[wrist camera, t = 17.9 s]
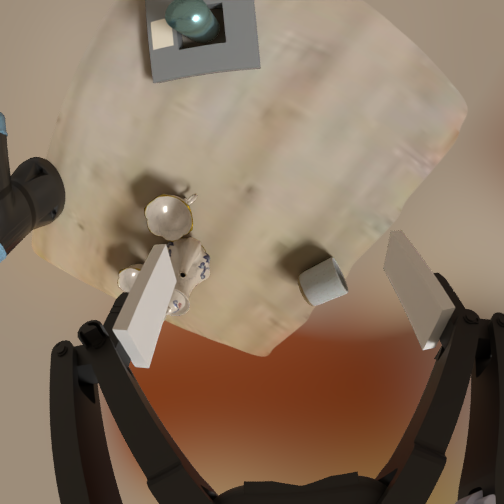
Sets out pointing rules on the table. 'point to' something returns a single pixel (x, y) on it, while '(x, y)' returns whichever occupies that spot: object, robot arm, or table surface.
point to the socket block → (208, 56)
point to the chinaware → (174, 249)
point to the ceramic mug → (322, 282)
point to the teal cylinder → (192, 20)
